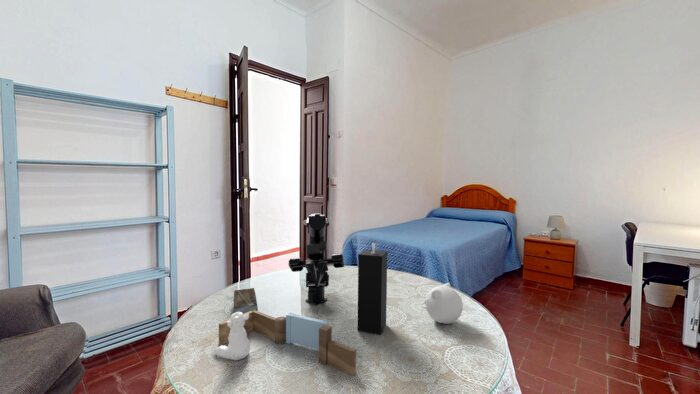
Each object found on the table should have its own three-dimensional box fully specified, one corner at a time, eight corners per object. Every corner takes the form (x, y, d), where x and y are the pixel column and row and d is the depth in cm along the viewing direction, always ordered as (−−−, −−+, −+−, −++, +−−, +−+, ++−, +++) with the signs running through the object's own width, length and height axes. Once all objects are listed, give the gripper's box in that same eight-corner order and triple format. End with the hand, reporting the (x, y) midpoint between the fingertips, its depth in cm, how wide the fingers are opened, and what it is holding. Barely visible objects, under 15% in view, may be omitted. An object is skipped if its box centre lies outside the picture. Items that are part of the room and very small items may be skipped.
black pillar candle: (386, 324, 101) (387, 241, 100) (381, 335, 94) (382, 245, 93) (363, 320, 104) (365, 239, 103) (357, 331, 96) (358, 243, 95)
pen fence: (257, 326, 99) (257, 299, 99) (360, 369, 76) (360, 334, 76) (218, 343, 88) (218, 313, 87) (326, 400, 65) (326, 359, 65)
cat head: (453, 336, 93) (454, 297, 93) (416, 323, 102) (416, 287, 102) (471, 321, 105) (472, 286, 104) (436, 310, 113) (437, 278, 113)
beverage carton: (233, 326, 99) (233, 306, 99) (233, 305, 117) (233, 288, 117) (258, 322, 102) (258, 303, 102) (254, 302, 120) (254, 286, 119)
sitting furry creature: (246, 342, 89) (246, 302, 88) (261, 354, 83) (261, 310, 82) (213, 354, 82) (213, 311, 82) (226, 368, 76) (226, 321, 76)
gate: (286, 342, 88) (286, 314, 88) (289, 339, 90) (289, 312, 89) (325, 353, 82) (325, 324, 82) (328, 350, 84) (329, 321, 84)
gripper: (286, 235, 104) (282, 279, 94) (340, 230, 103) (342, 273, 93) (293, 251, 112) (291, 292, 103) (343, 246, 112) (345, 287, 102)
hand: (316, 286), depth 100 cm, fingers closed
